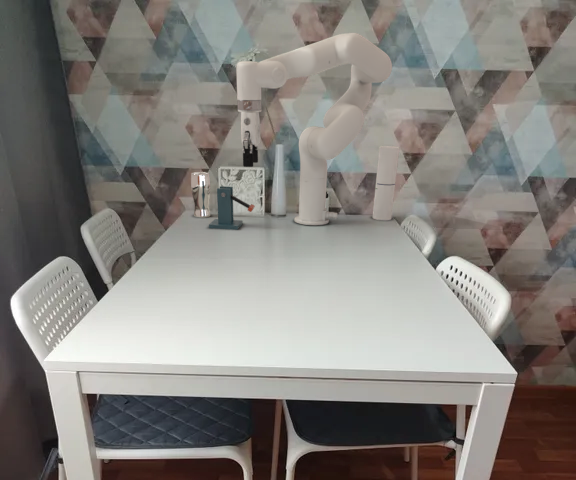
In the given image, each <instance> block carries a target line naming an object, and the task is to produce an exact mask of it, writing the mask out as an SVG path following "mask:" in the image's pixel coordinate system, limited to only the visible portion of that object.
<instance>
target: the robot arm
mask: <svg viewBox="0 0 576 480" xmlns="http://www.w3.org/2000/svg"><path fill="white" fill-rule="evenodd" d="M344 65H351V67H350V82H349V87H348V88H347V90H346V91H345V92H344V93H343V94H342V95H341V96H340V97H339V98H338V99H337V101H335V102H334V103H333V104H332V105H331V106H330V107H329V108H328V109H327V111H326V112H325V113H324V115H323V119H322V124H323V126H316V125H312V126H307V127H306V128H305V129H303V130H302V132H301V133H300V135H299V138H298V152H299V166H300V167H299V196H298V197H299V198H298V199H299V200H298V215H297V216H295V217H294V218H293V219H294V223H297V224H300V225H304V226H323V225H327V224H329V222H330V219H338V212H335V211H329V210H327V207H326V205H327V203H326V201H327V184H328V161H330V160H333V159H335V158H336V157H338V156H339V155H340V154H341V153H342V152H343V151H344V150H345V149H346V148H347V147H348V146H349V145H351V143H352V142H353V141H354V140H355V139H356V138H357V137H358V136H359V135H360V133H361V132H362V131H363V127H364V124H365V116H364V110H365V109H367V107H368V105H369V104H370V101H371V97H372V90H373V89H372V88H373V87H372V85H373V84H379V83H383V82H385V81H386V80H388V79H389V77H390V76H391V75H392V70H393V63H392V60H391V58H390V56H389V54H387V53H386V52H385V51H383V50H382V48H380V47H378V46H377V45H375V44H374V43H373V42H371V41H370V40H369V39H367V38H366V37H364V36H363V35H361V34H360V33H358V32H347V33H340V34H336V35H333V36H330V37H328V38H327V37H326V38H324V39H321V40H319V41H316V42H313V43H310V44H307V45H304V46H301V47H298V48H296V49H292V50H290V51H287V52H283V53H280V54H277V55H274V56H272V57H269V58H266V59H263V60H260V61H255V60H254V61H253V60H242V61H238V62H237V63H236V65H235V67H236V69H235V71H236V73H235V74H236V96H237V97H236V98H237V101H236V102H237V103H236V104H237V112H238V113H240V138H241V139H240V140H241V145H242V166H243V168H253V167H254V164H257V163H259V150H258V146H259V145H260V144H261V121H260V113H262V89H273V90H275V89H276V90H277V89H279V88H281V87H283V86H284V85H285V84H286V83H287V81H288V80H291V79H295V78H308V77H312V76H316V75H319V74H322V73H323V72H326V71H329V70H331V69H335V68H338V67H341V66H344Z"/></svg>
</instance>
